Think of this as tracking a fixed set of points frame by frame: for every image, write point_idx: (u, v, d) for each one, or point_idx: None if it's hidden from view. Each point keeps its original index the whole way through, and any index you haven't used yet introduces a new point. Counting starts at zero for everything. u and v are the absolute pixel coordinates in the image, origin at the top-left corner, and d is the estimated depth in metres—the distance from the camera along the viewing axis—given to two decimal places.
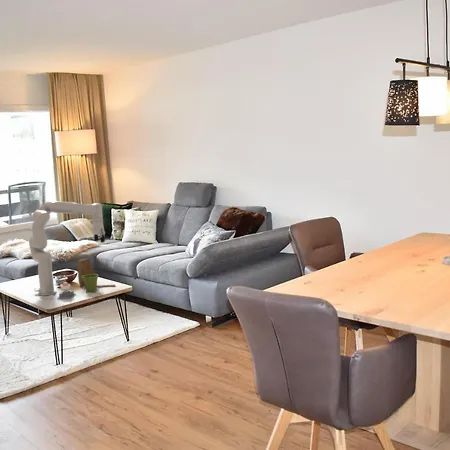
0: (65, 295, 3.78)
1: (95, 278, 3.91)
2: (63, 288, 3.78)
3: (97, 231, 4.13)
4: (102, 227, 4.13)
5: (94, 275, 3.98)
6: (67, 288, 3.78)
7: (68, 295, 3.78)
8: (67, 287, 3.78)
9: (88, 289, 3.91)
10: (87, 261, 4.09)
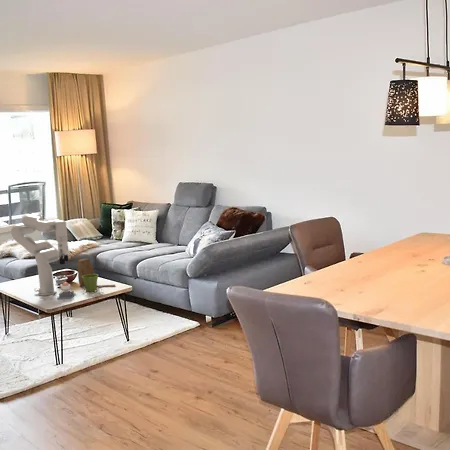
0: (65, 295, 3.78)
1: (95, 278, 3.91)
2: (63, 288, 3.78)
3: None
4: None
5: (94, 275, 3.98)
6: (67, 288, 3.78)
7: (68, 295, 3.78)
8: (67, 287, 3.78)
9: (88, 289, 3.91)
10: (87, 261, 4.09)
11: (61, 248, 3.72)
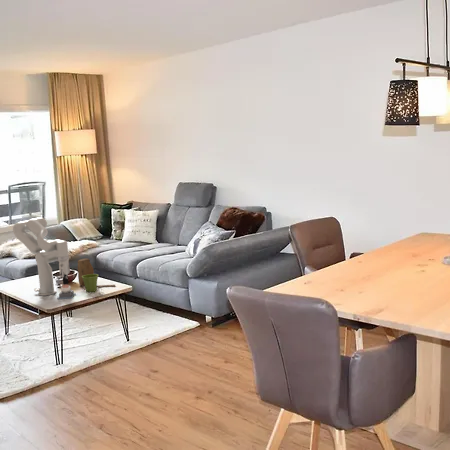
0: (65, 295, 3.78)
1: (95, 278, 3.91)
2: (63, 290, 3.78)
3: (69, 269, 3.82)
4: None
5: (94, 275, 3.98)
6: (67, 290, 3.79)
7: (68, 295, 3.78)
8: (67, 289, 3.78)
9: (88, 289, 3.91)
10: (87, 261, 4.09)
11: (62, 268, 3.74)
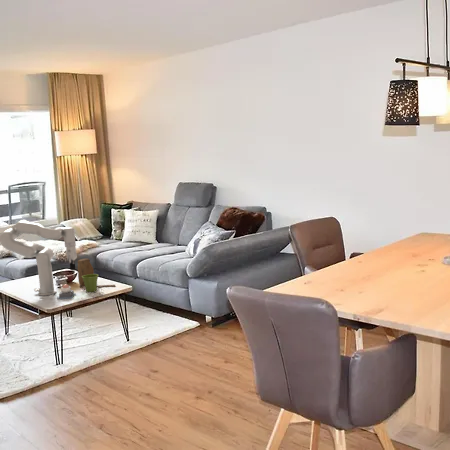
0: (65, 295, 3.78)
1: (95, 278, 3.91)
2: (63, 290, 3.78)
3: (76, 254, 3.94)
4: None
5: (94, 275, 3.98)
6: (67, 290, 3.79)
7: (68, 295, 3.78)
8: (67, 289, 3.78)
9: (88, 289, 3.91)
10: (87, 261, 4.09)
11: (69, 254, 3.85)
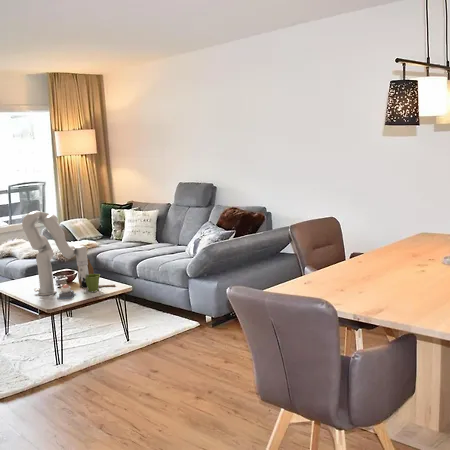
0: (65, 295, 3.78)
1: (97, 278, 3.91)
2: (63, 290, 3.78)
3: (88, 273, 3.96)
4: None
5: (96, 275, 3.98)
6: (67, 290, 3.79)
7: (68, 295, 3.78)
8: (67, 289, 3.78)
9: (90, 289, 3.91)
10: None
11: (82, 272, 3.88)
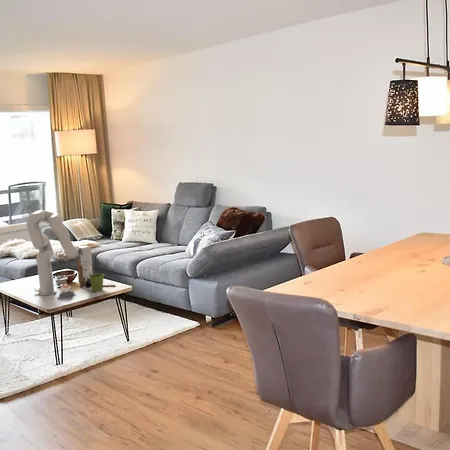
0: (65, 295, 3.78)
1: (101, 278, 3.91)
2: (63, 290, 3.78)
3: (92, 273, 3.96)
4: None
5: (100, 275, 3.98)
6: (67, 290, 3.79)
7: (68, 295, 3.78)
8: (67, 289, 3.78)
9: (94, 289, 3.91)
10: None
11: (86, 272, 3.88)
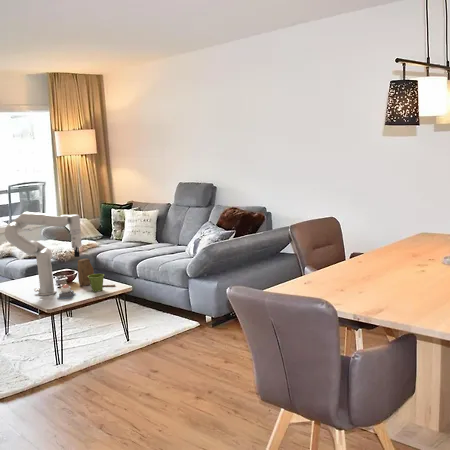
0: (65, 295, 3.78)
1: (101, 278, 3.91)
2: (63, 290, 3.78)
3: (80, 242, 3.95)
4: None
5: (100, 275, 3.98)
6: (67, 290, 3.79)
7: (68, 295, 3.78)
8: (67, 289, 3.78)
9: (94, 289, 3.91)
10: (87, 261, 4.09)
11: (74, 241, 3.87)
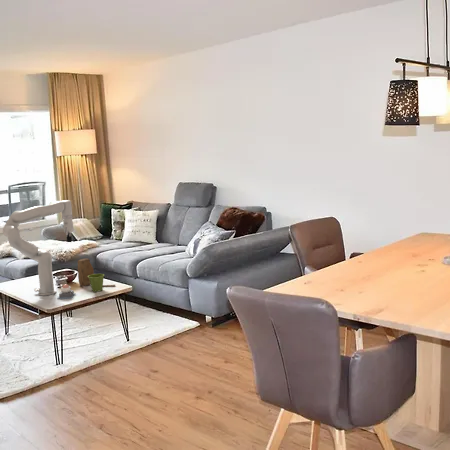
0: (65, 295, 3.78)
1: (101, 278, 3.91)
2: (63, 290, 3.78)
3: None
4: None
5: (100, 275, 3.98)
6: (67, 290, 3.79)
7: (68, 295, 3.78)
8: (67, 289, 3.78)
9: (94, 289, 3.91)
10: (87, 261, 4.09)
11: (66, 226, 3.94)
